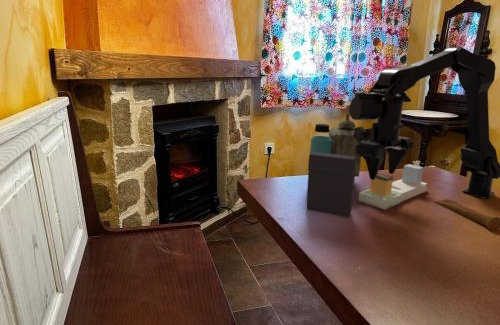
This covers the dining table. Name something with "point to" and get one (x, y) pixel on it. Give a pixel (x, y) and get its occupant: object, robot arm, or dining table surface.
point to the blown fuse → (381, 185)
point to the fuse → (412, 174)
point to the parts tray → (379, 199)
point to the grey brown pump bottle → (345, 140)
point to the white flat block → (408, 189)
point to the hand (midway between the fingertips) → (381, 176)
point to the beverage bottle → (321, 140)
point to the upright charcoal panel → (331, 183)
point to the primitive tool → (471, 214)
